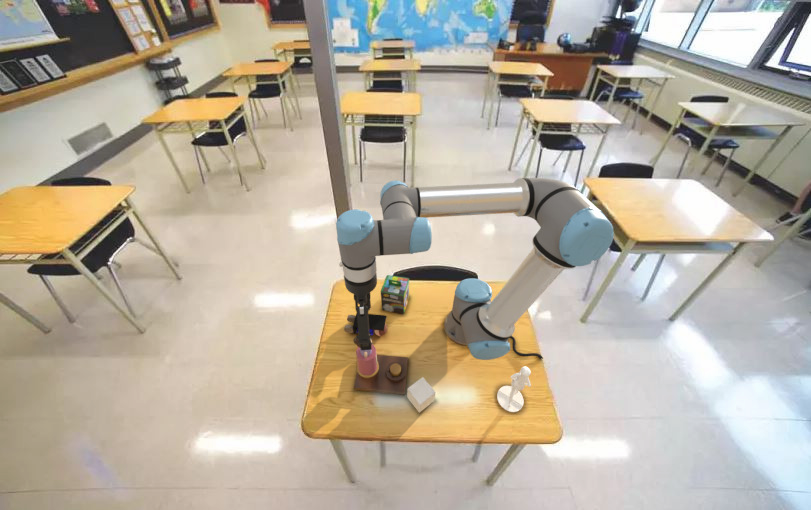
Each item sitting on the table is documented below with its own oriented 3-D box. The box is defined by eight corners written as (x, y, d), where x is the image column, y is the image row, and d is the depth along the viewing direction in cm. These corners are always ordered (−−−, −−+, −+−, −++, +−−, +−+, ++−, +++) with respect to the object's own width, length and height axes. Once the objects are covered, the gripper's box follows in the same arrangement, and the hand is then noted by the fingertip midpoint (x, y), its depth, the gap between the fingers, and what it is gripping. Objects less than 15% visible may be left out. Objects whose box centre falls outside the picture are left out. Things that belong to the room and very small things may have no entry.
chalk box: (409, 297, 129) (410, 271, 119) (404, 315, 122) (404, 289, 112) (387, 293, 131) (386, 267, 121) (381, 310, 124) (379, 284, 114)
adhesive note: (407, 397, 99) (407, 388, 95) (421, 385, 102) (422, 376, 98) (419, 413, 96) (420, 404, 92) (434, 400, 98) (435, 392, 94)
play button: (401, 366, 103) (401, 363, 102) (400, 377, 101) (400, 374, 99) (390, 365, 103) (390, 362, 102) (389, 376, 101) (389, 373, 100)
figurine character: (346, 339, 116) (386, 341, 113) (341, 327, 111) (383, 328, 108) (350, 324, 121) (389, 325, 118) (346, 311, 116) (386, 312, 113)
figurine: (522, 389, 101) (539, 360, 89) (523, 415, 96) (542, 387, 84) (497, 384, 103) (510, 354, 91) (496, 408, 97) (511, 380, 85)
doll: (356, 378, 99) (351, 349, 88) (357, 358, 104) (352, 328, 93) (379, 377, 100) (376, 347, 88) (378, 356, 105) (376, 326, 94)
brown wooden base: (407, 360, 108) (408, 354, 106) (404, 395, 99) (404, 390, 97) (361, 355, 109) (360, 350, 107) (354, 390, 100) (353, 385, 98)
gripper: (345, 239, 82) (353, 293, 96) (340, 317, 63) (351, 370, 77) (375, 237, 82) (378, 291, 96) (378, 315, 64) (381, 368, 78)
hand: (366, 326), depth 87 cm, fingers open, 13 cm apart
